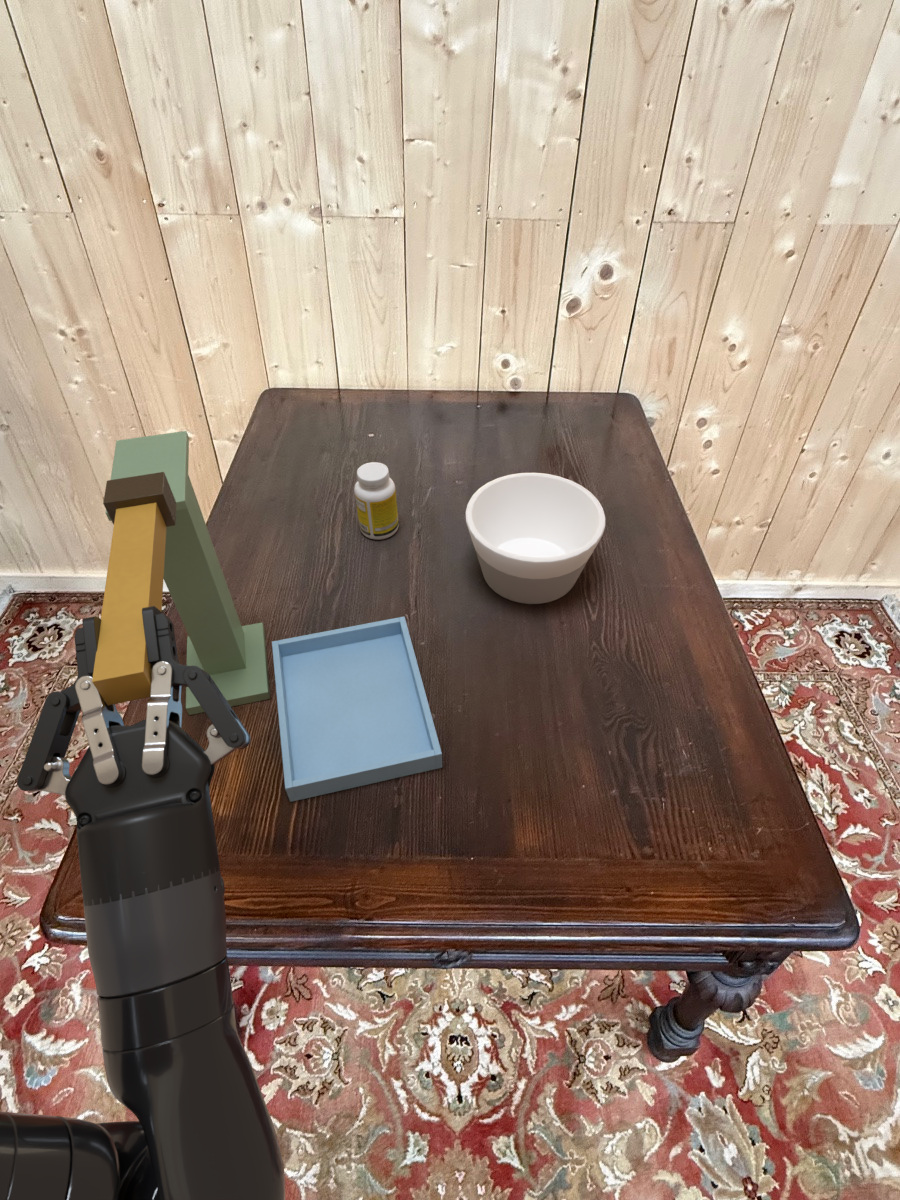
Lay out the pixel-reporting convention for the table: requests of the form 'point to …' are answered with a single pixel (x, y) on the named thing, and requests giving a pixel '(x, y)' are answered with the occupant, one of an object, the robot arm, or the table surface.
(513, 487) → the bowl
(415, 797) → the table surface
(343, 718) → the tray
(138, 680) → the brass bolt
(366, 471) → the pill bottle
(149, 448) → the stand
